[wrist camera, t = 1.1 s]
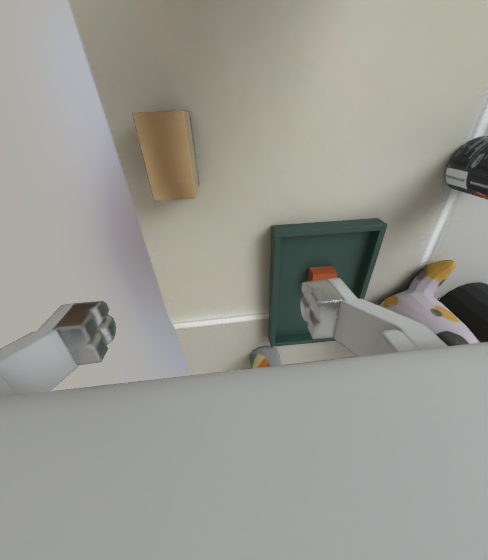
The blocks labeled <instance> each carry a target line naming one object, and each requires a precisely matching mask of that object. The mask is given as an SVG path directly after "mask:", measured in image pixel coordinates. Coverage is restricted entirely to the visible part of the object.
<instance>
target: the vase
mask: <svg viewBox="0 0 488 560" xmlns="http://www.w3.org/2000/svg"><path fill="white" fill-rule="evenodd" d="M439 302H441V303H442V304H443V305H444V306H445V307H446V308H448V309H449V310H450V311H451V312H452V313H453V314H454V315H455V316H456V317H457V318H458V319H459V320H460V321H461V322H462V323H463V324H465V325H466V327H467V328H468V329H469V330H470V331H471V332H472V333H473V335H474V336H475V337H476V338H477V339H478V340H479V341H480V342H481V343H482V342H488V285H487V284H484V283H471V284H467V285H464V286H461V287H459V288H457V289H455V290H453V291H451V292H449V293H448V294H447V295H446V296H444V297H443V298H442V299H441V300H440V301H439Z"/></svg>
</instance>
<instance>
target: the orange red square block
mask: <svg viewBox="0 0 488 560" xmlns="http://www.w3.org/2000/svg"><path fill="white" fill-rule="evenodd" d="M336 277H337V272H336V270H335V269H334V268H333V266H322V267H310V268H309V271H308V278H307V282H308V281H316V280H325V279H332V278H336Z"/></svg>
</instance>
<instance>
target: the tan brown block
mask: <svg viewBox="0 0 488 560" xmlns="http://www.w3.org/2000/svg"><path fill="white" fill-rule="evenodd" d="M132 114H133V118H134V122H135V126H136V130H137V134H138V138H139V142H140V146H141V150H142V154H143V158H144V162H145V166H146V170H147V174H148V178H149V182H150V186H151V190H152V194H153V198H154V201H161V200H177V199H192V198H196V194H197V191H198V187H199V177H198V170H197V163H196V155H195V148H194V141H193V134H192V126H191V119H190V112H188V111H162V112H140V113H132Z"/></svg>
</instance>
